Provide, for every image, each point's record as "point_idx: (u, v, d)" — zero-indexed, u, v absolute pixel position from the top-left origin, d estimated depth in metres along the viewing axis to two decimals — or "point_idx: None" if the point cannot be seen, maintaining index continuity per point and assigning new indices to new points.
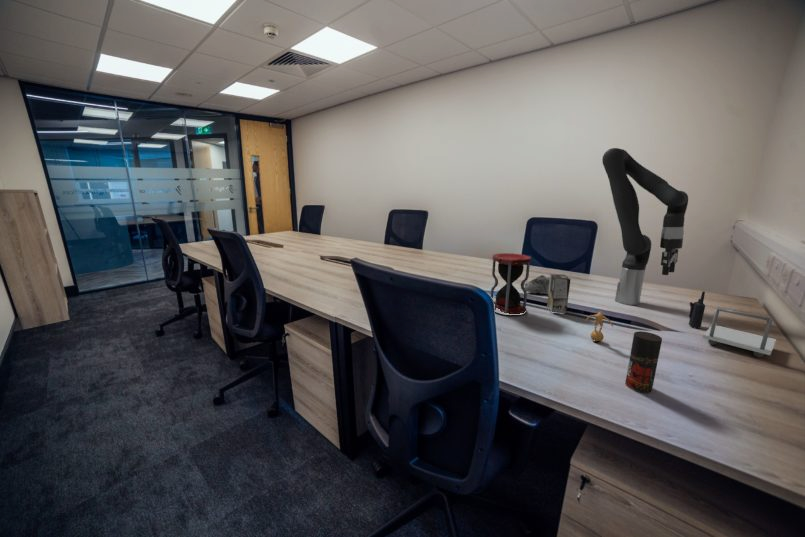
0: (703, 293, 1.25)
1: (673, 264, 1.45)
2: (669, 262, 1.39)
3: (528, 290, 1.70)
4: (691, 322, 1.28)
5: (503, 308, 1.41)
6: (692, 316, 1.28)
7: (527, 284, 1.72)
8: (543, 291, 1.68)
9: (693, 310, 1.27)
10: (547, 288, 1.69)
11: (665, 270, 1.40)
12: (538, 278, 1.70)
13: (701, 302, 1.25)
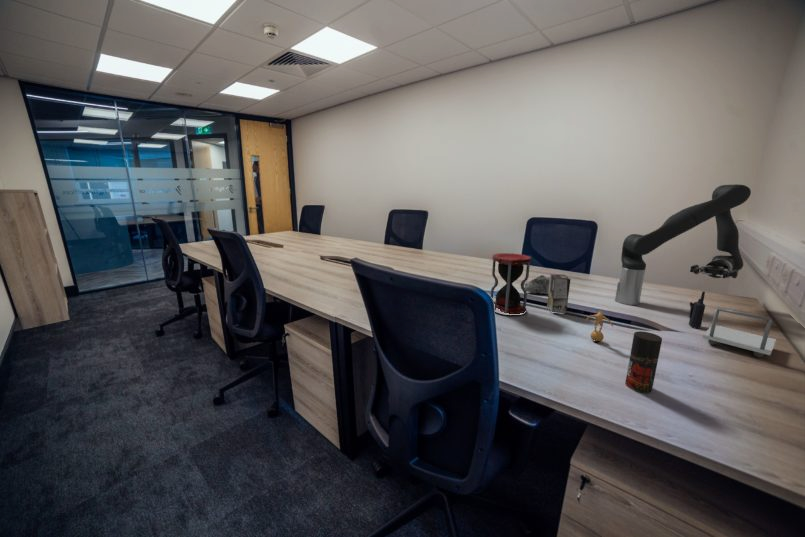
0: (703, 293, 1.25)
1: (698, 272, 1.37)
2: None
3: (528, 290, 1.70)
4: (691, 322, 1.28)
5: (503, 308, 1.41)
6: (692, 316, 1.28)
7: (527, 284, 1.72)
8: (543, 291, 1.68)
9: (693, 310, 1.27)
10: (547, 288, 1.69)
11: (728, 275, 1.28)
12: (538, 278, 1.70)
13: (701, 302, 1.25)
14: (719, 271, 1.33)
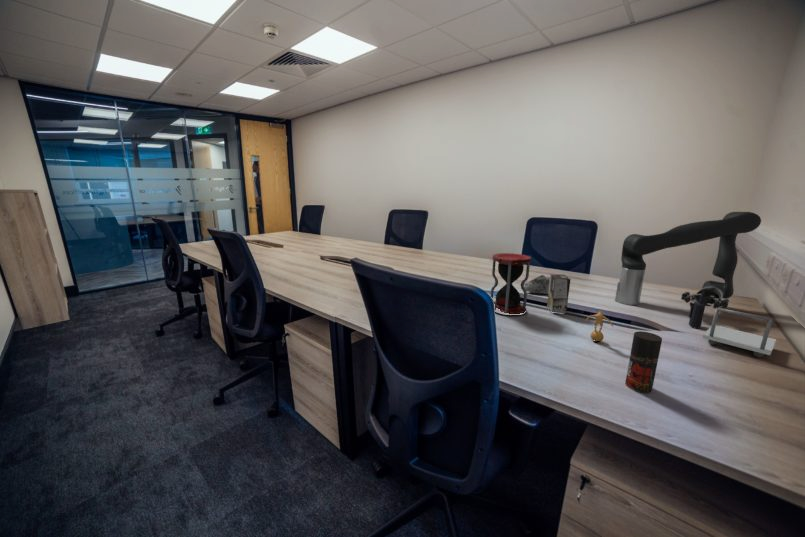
0: (703, 293, 1.25)
1: (689, 300, 1.36)
2: None
3: (528, 290, 1.71)
4: (691, 322, 1.28)
5: (503, 308, 1.41)
6: (692, 316, 1.28)
7: (527, 284, 1.72)
8: (543, 291, 1.68)
9: (693, 310, 1.27)
10: (547, 288, 1.69)
11: (719, 305, 1.28)
12: (538, 278, 1.70)
13: (701, 302, 1.25)
14: (710, 300, 1.33)
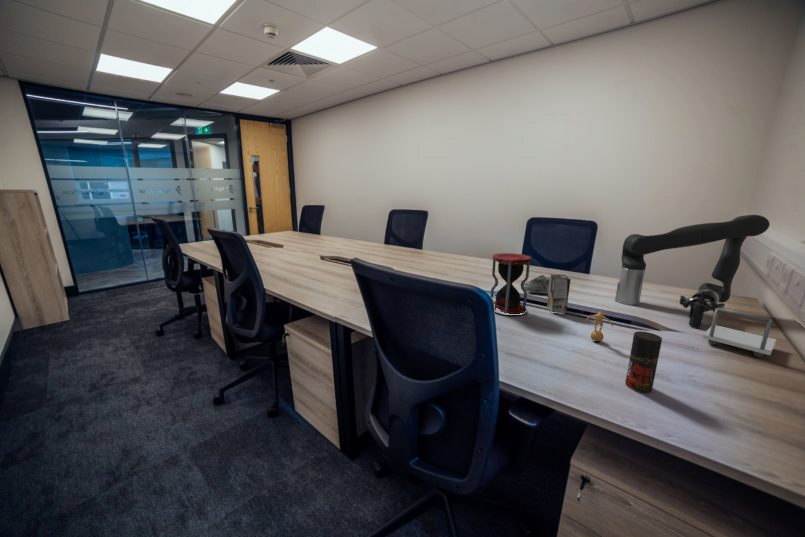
0: (703, 293, 1.25)
1: (688, 305, 1.30)
2: None
3: (528, 290, 1.71)
4: (691, 322, 1.28)
5: (503, 308, 1.41)
6: (692, 316, 1.28)
7: (527, 284, 1.72)
8: (543, 291, 1.68)
9: (693, 310, 1.27)
10: (547, 288, 1.69)
11: (709, 309, 1.24)
12: (538, 278, 1.70)
13: (701, 302, 1.25)
14: None
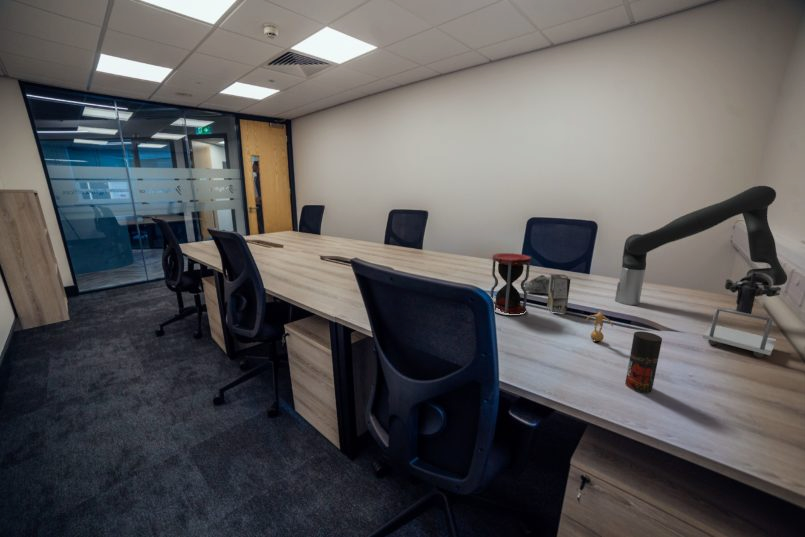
0: (754, 275, 1.07)
1: (736, 289, 1.12)
2: None
3: (528, 289, 1.71)
4: (739, 309, 1.11)
5: (503, 308, 1.41)
6: (740, 302, 1.10)
7: (527, 283, 1.73)
8: (542, 291, 1.68)
9: (741, 295, 1.10)
10: (547, 288, 1.69)
11: (762, 293, 1.06)
12: (538, 278, 1.70)
13: (751, 285, 1.08)
14: None
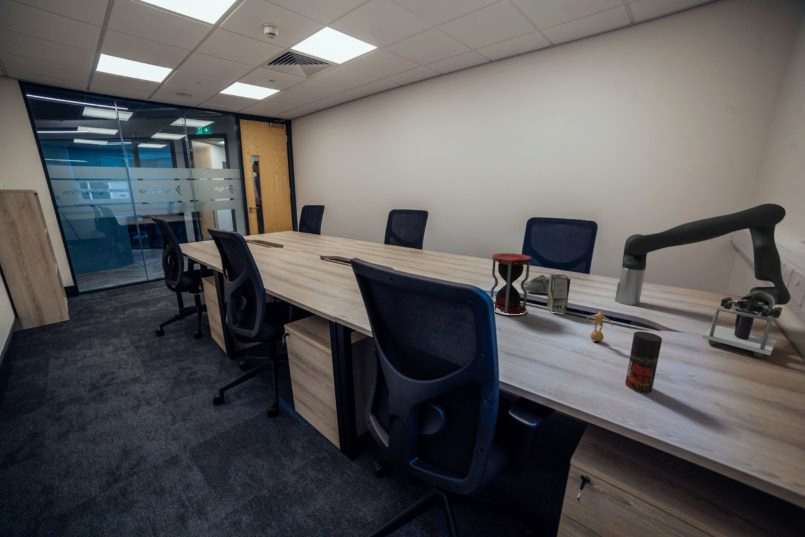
0: (753, 298, 1.07)
1: (731, 307, 1.14)
2: None
3: (527, 289, 1.72)
4: (737, 332, 1.10)
5: (503, 308, 1.41)
6: (738, 325, 1.10)
7: (527, 283, 1.73)
8: (542, 291, 1.69)
9: (740, 318, 1.09)
10: (547, 288, 1.69)
11: (768, 315, 1.06)
12: (538, 278, 1.71)
13: (750, 309, 1.07)
14: (757, 308, 1.11)
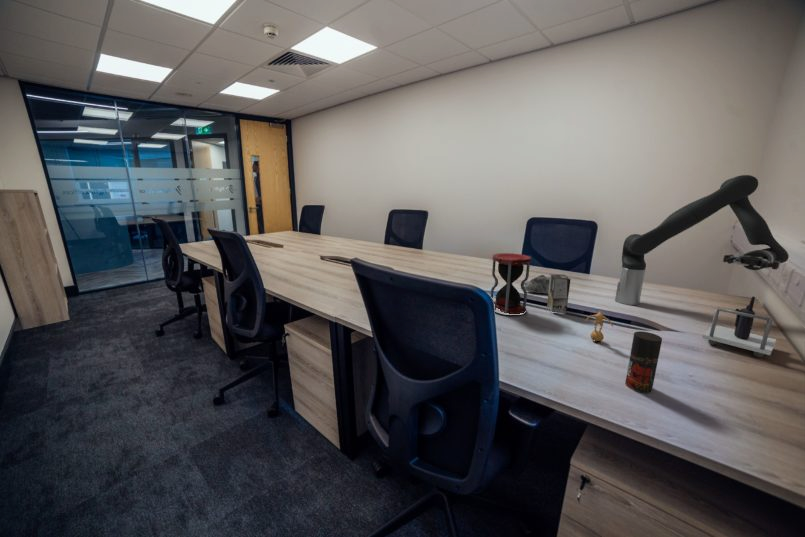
0: (753, 298, 1.07)
1: (732, 261, 1.23)
2: None
3: (527, 289, 1.72)
4: (737, 332, 1.10)
5: (503, 308, 1.41)
6: (738, 325, 1.10)
7: (527, 283, 1.73)
8: (542, 290, 1.69)
9: (740, 318, 1.09)
10: (547, 288, 1.69)
11: (767, 266, 1.15)
12: (538, 277, 1.71)
13: (750, 309, 1.07)
14: (757, 261, 1.19)
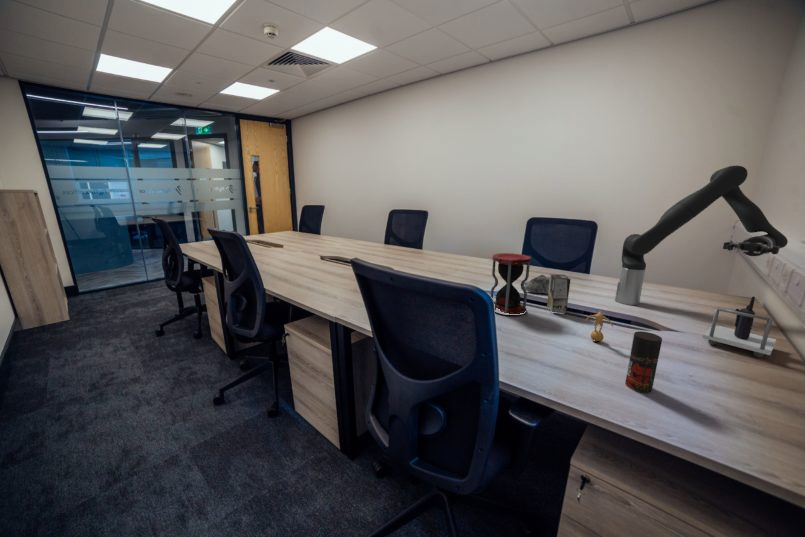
0: (753, 298, 1.07)
1: (732, 248, 1.24)
2: (766, 252, 1.18)
3: (527, 289, 1.72)
4: (737, 332, 1.10)
5: (503, 308, 1.41)
6: (738, 325, 1.10)
7: (527, 283, 1.73)
8: (542, 290, 1.69)
9: (740, 318, 1.09)
10: (547, 288, 1.70)
11: (767, 251, 1.15)
12: (538, 277, 1.71)
13: (750, 309, 1.07)
14: (757, 247, 1.20)
